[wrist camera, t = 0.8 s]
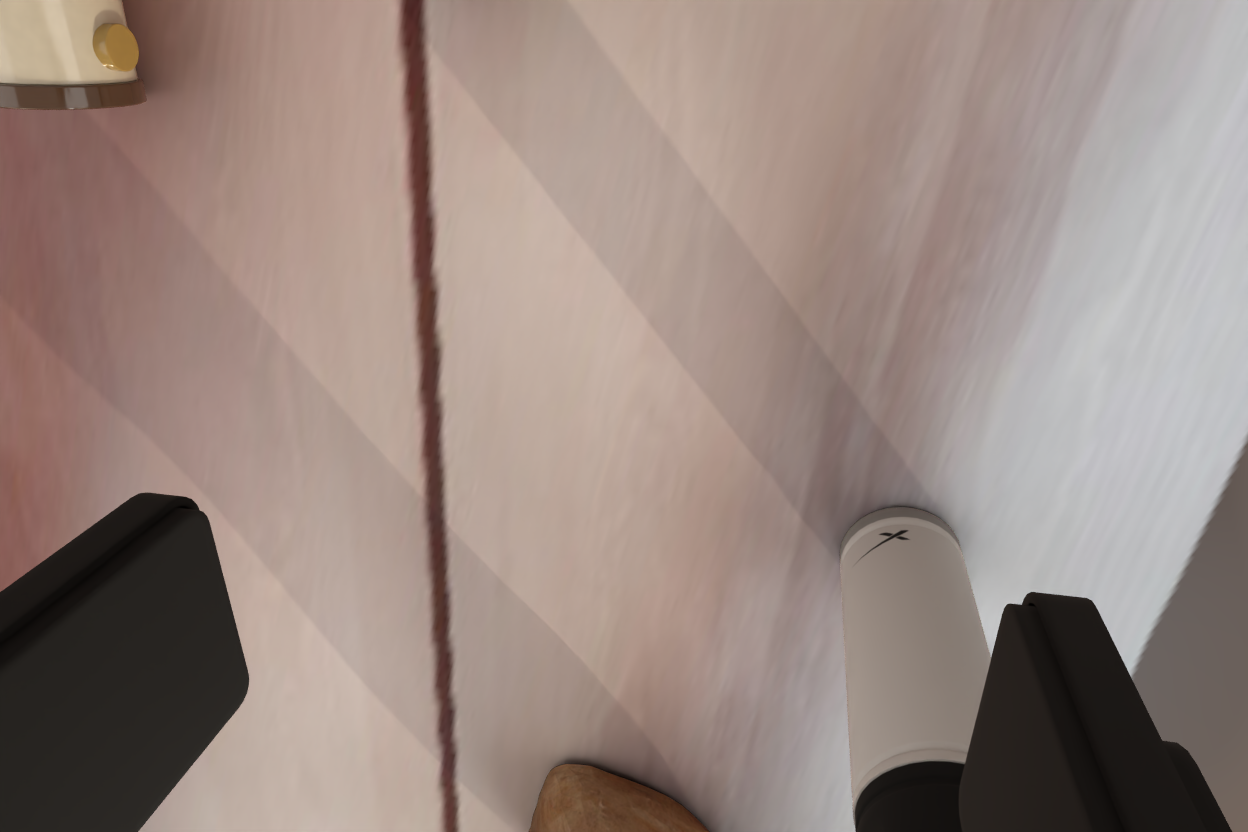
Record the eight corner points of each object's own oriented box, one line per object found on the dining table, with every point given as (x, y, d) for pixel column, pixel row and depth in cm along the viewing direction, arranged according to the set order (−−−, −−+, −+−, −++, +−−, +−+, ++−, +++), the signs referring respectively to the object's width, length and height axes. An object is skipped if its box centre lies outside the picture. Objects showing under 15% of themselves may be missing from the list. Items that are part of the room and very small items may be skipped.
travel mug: (862, 485, 44) (897, 813, 26) (982, 529, 43) (1099, 890, 26) (815, 573, 47) (818, 920, 29) (927, 615, 46) (998, 990, 29)
